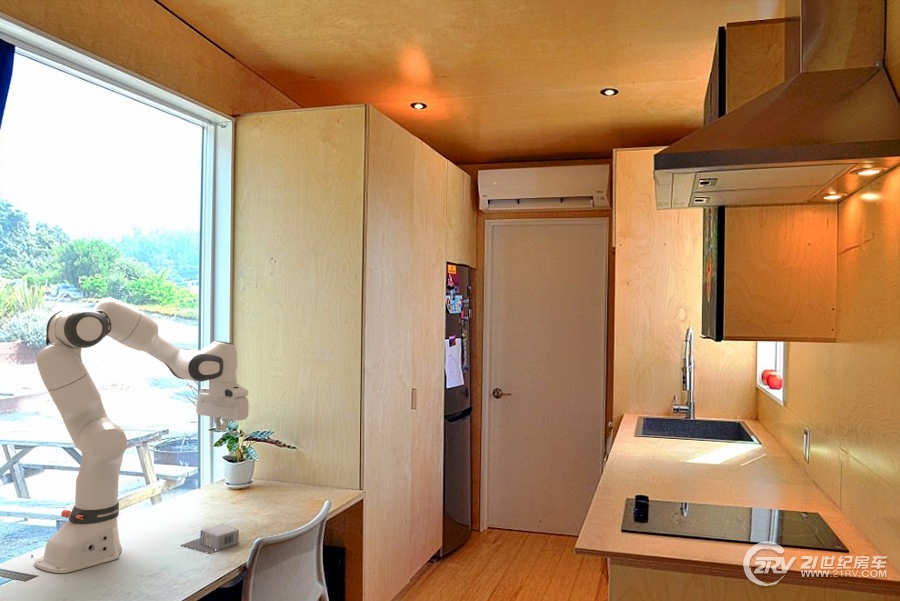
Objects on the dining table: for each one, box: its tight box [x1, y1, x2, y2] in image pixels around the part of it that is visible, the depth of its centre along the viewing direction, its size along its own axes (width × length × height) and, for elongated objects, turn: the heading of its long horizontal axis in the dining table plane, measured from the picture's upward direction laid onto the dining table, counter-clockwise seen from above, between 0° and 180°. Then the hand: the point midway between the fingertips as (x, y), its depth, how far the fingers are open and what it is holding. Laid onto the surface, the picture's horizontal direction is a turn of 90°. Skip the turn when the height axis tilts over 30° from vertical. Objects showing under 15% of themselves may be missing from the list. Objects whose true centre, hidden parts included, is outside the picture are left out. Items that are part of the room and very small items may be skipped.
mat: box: [180, 537, 215, 554], centre depth 212 cm, size 12×12×1 cm
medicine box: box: [199, 523, 240, 551], centre depth 212 cm, size 8×4×9 cm
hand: (221, 430), depth 231 cm, fingers closed
